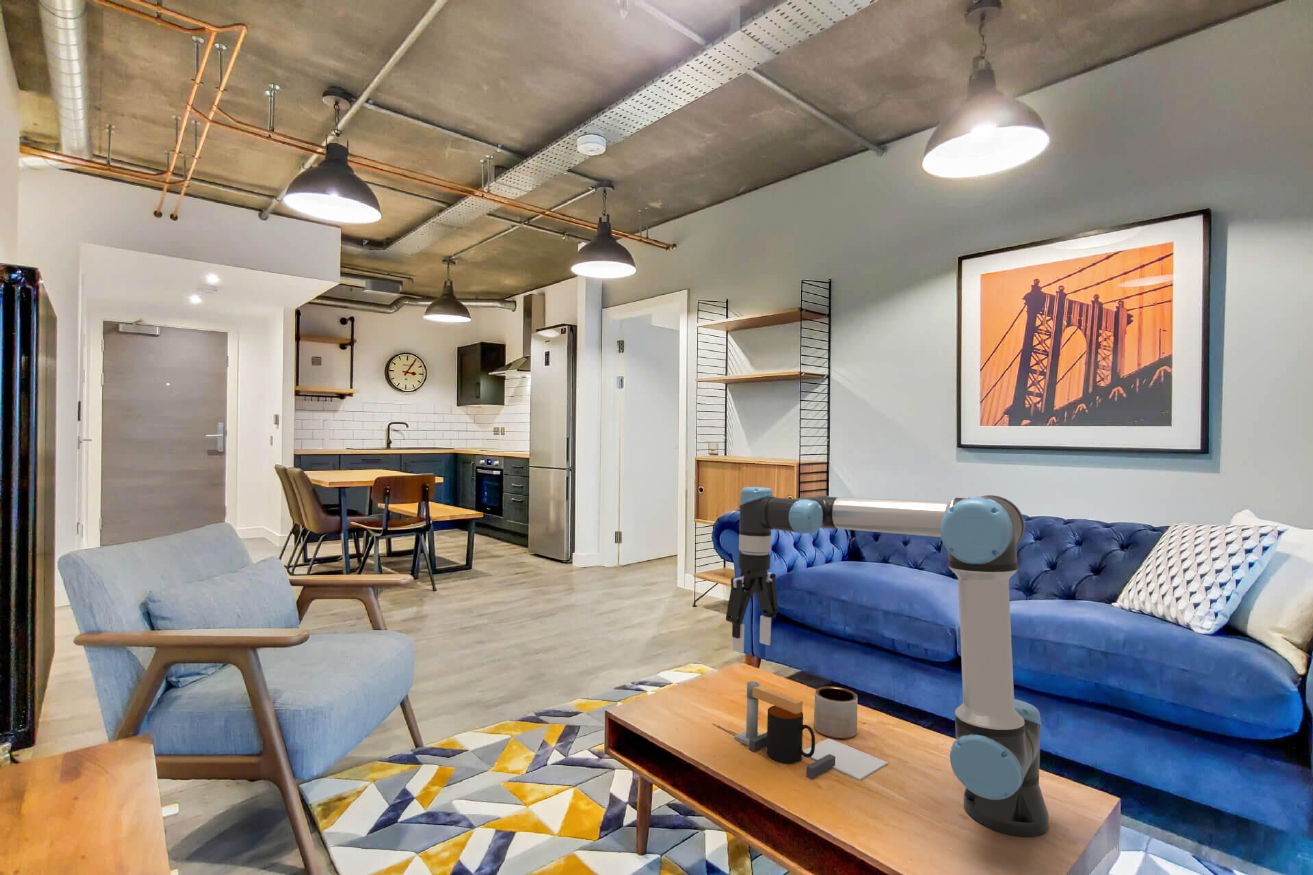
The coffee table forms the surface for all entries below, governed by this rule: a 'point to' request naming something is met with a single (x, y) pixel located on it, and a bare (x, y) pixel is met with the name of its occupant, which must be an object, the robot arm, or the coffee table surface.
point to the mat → (847, 759)
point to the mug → (786, 736)
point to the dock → (760, 741)
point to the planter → (835, 712)
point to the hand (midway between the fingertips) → (751, 647)
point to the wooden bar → (774, 697)
